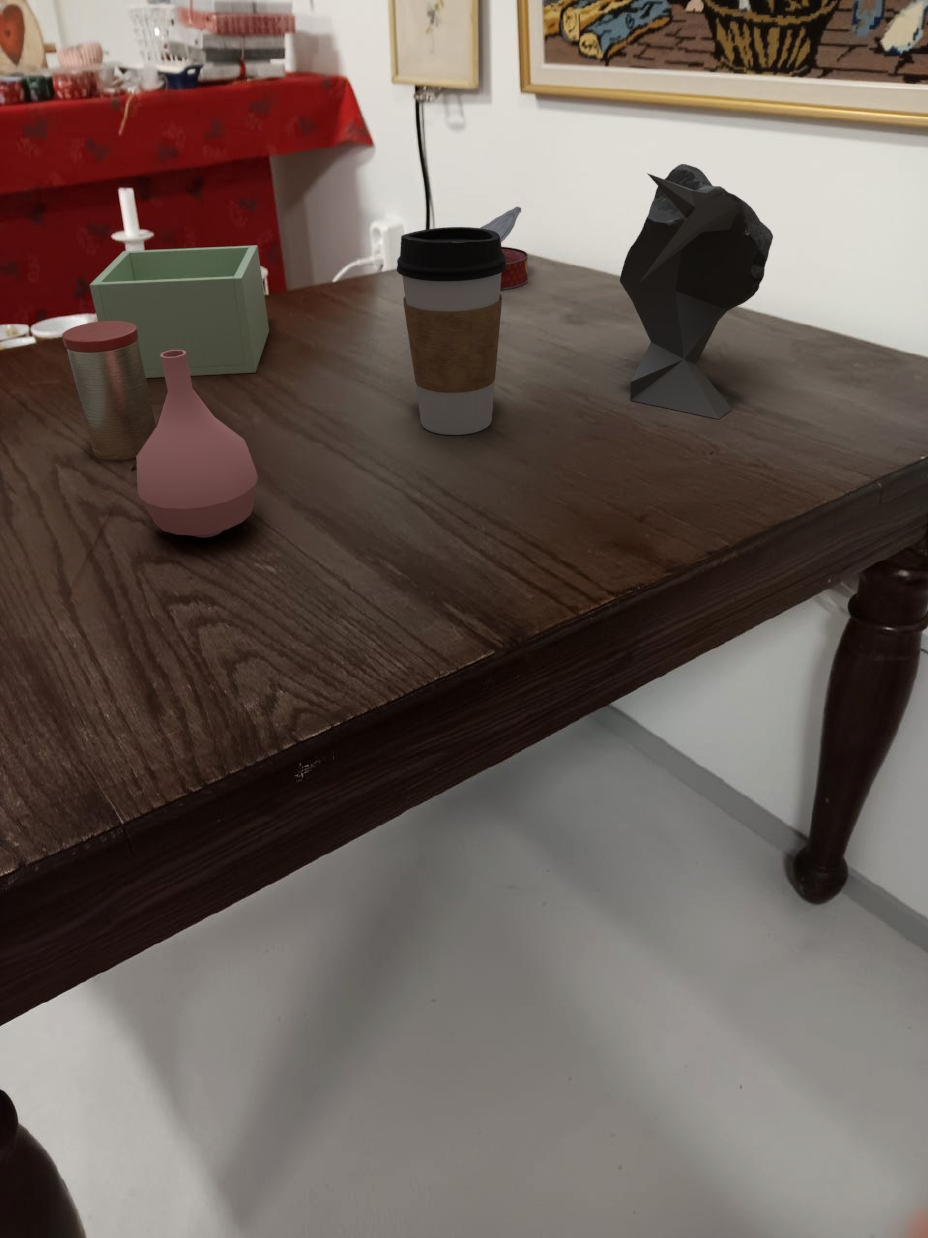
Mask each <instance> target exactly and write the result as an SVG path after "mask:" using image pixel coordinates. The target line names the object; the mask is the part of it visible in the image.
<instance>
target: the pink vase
mask: <svg viewBox="0 0 928 1238" xmlns="http://www.w3.org/2000/svg"><path fill="white" fill-rule="evenodd" d="M160 356H161V361H162V366H163V371H164V375H165V377H164V380H165V385H166V389H167V394H166V396H165V400H164V403H163V407H162V409H161V413H160V416H159V419H158V421H157V424H156V428H155V430H154V431H153V433H152V434H151V436H150V437H149V439H148V440H147V442H146V443H145V445H144V446H143V448H142V449H141V450H140V452H139V453H138V455H137V456H136V458H135V460H137V469H136V489H137V493H138V497H139V499H140V501H141V503H142V504H143V506H144V507H145V509H146V511H147V513H148V514H149V515H150V518H151V519H152V521H153V522H154V524H155V526H157V527H158V528H159V529H160V530H162V531H163V532H166V533H170V534H174V535H180V536H193V537H196V538H212V537H216V536H218V535H220V534H221V533H223V532H224V531H226V530H229V529H231V528H233V527H235V526H237V525H240V524H242V523H243V522H244V521H245V520H246V519H248V518H249V517H250V516H252V512H253V509H254V507H255V500H256V493H257V487H258V479H259V475H258V472H257V469H256V467H255V464H254V461H253V458H252V455H251V453H250V450H249V447H248V445H247V443H246V440H245V439H244V438H243V437H242V436H241V435H239V434H238V433H236V431H234V430H232V429H231V428H229V427H228V425H226V424H225V423H223V422H222V421H221V420H219V419H218V418H216V417H215V416H214V415H213V413H212V412H211V411H210V409H209V408H208V406H207V405H206V404H205V403H204V401H203V400H202V399H201V397H200V396H199V394H197V392H196V391H195V389H193V383H192V376H190V371H189V366H188V360H187V354H186V351H184V350H170V351H166V352H163V353H161V354H160Z"/></svg>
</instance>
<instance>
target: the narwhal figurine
mask: <svg viewBox="0 0 928 1238" xmlns="http://www.w3.org/2000/svg"><path fill="white" fill-rule="evenodd" d="M646 174H647V175H648V176H649V178H651V180H652V181H653V182H654V183H655V184H656V185H657V187H656V190H655V194H654V198H653V200H652V202H651V204H650V207H649V211H648V214H647V216H646V218H645V221H644V223H643V226H642V228H641V230H640V232H639V233H638V236H637V237H636V239H635V240H634V243H633V244H632V245H631V246H630V247H629V249H628V251H627V254H626V257H625V259H624V262H623V266H622V268H621V273H620V277H619V283H620V284H621V286H622V287H623V290H624V291H625V292H626V293H627V296H628V297H629V298H630V300H631V302H632V304H633V306H634V308H635V311H636V313H637V315H638V317H639V320H640V321H641V324H642V326H643V328H644V330H645V332H646V334H647V337H648V339H649V341H650V343H649V344H648V346H647V349H646V351H645V352H644V354H643V357H642V358H641V360H640V362H639V363H638V367H637V369H636V370H635V372H634V374H633V376H632V378H631V380H630V388H629V391H630V392H629V401H631V402H636V403H641V404H644V405H645V404H646V405H651V406H655V407H660V408H665V409H670V410H674V411H679V412H684V413H689V414H693V415H698V416H703V417H705V418H706V417H707V418H712V419H715V420H716V419H717V420H720V419H721V418H723V417H724V416H726V415H727V414H728V413H730V412H731V411H732V410H733V408H732V406H731V405H730V404H729V403H728V402H727V400H726V399H725V398H724V397H723V396H722V394H721V393H720V392H719V390H718V389H717V388H716V387H715V386H714V385H713V383H712V382H711V381H710V380H709V378H708V377H707V376H706V375H705V373H704V372H703V371H702V370H701V369H700V367H699V366H698V365H697V364H698V361H699V359H700V357H701V356H702V354H703V352H704V350H705V348H706V346H707V343H708V342H709V340H710V338H711V336H712V334H713V333H714V330H715V328H716V326H717V325H718V323H719V321H720V320H721V319H722V318H723V317H724V316H725V315H726V314H727V312H729V311H731V310H732V309H734V308H737V307H738V306H741V305H743V304H744V303H746V302H747V301H749V300H750V299H751V298H753V297H755V294H756V293H757V292H758V291H759V289H760V285H761V283H762V281H763V280H764V277H765V269H766V264H767V261H768V258H769V253H770V249H771V246H772V243H773V240H774V235H773V233H772V231H771V229H770V228H769V227H768V226H767V225H766V224H764V223H763V222H762V221H761V220H760V217H759V216H758V215H757V213H756V211H755V210H754V208H753V207H752V206H751V205H749V204H748V203H747V202H746V201H745V200H743V199H741V198H740V197H739V196H738V195H736V194H734V193H731V192H729V191H728V190H726V189H725V188H724V187H722V186H721V185H713V184H712V183H711V181H710V180H709V178H708V177H707V176H706V174H705V173H704V172H703V171H702V170H701V169H699V168H698V167H696V166H693V165H689V164H686V163H680V164H678V165H677V166H675V167H674V168H673V169H671V171H670V172H669V173H668V175H667V176H666V177H665V178H662V177H659V176H656V175H653V174H652V173H648V172H646Z"/></svg>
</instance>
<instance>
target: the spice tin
mask: <svg viewBox="0 0 928 1238" xmlns="http://www.w3.org/2000/svg"><path fill="white" fill-rule="evenodd" d="M61 338H62V342H63V346H64V347H65V349H66V352H67V355H68V360H69V363H70V368H71V371H72V376H73V378H74V384H75V387H76V391H77V394H78V399H79V402H80V407H81V410H82V414H83V418H84V423H85V425H86V430H87V434H88V437H89V442H90V445H91V450H92V453H93V455H94V456H95V457H96V458H98V459H101V460H104V461H105V460H106V461H125V460H132V459H133V460H134V459H135V461H134V464H133V465H132V467H131V469H130V471H135V470H136V471H137V459H136V456H137V455H138V453H139V452H140V450H141V449H142V448H143V446H144V445H145V443H146V442H147V440H148V439H149V437H150V436H151V434H152V433H153V431H154V430H155V428H156V427H157V422H156V418H155V415H154V410H153V403H152V400H151V397H150V390H149V385H148V380H147V378H146V376H145V371H144V367H143V362H142V357H141V353H140V348H139V343H138V332H137V327H136V326H135V325H134V324H132V323H129V322H124V321H100V322H98V321H92V322H88V323H83V324H79V325H76V326H73V327H70V328H68V329H67V330H64V332H63V333H62V334H61Z"/></svg>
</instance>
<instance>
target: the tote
mask: <svg viewBox="0 0 928 1238" xmlns="http://www.w3.org/2000/svg"><path fill="white" fill-rule="evenodd" d="M260 261H261V260H260V254H259V247H258V245H257V244H256V245H237V246H235V245H234V246H214V247H213V246H212V247H190V248H188V247H187V248H167V249H165V248H164V249H145V250H123V251H122V252H121V253H120V254H119V255H118V256H117V257H116V258H115V259H114V260H113V261H112V262H111V263H110V264H109V265H108V266H107V267H106V268H105V269H104V270H103V271H102V272H101V273H100V274H99V275H98V276H97V277H96V278H94V280H93V281H92V282H91V283H90V284H89V290H90V293H91V297H92V302H93V307H94V310H95V315H96V319H97V322H100V321H124V322H129V323H132V324H134V325H135V326H136V327H137V332H138V343H139V348H140V353H141V357H142V362H143V367H144V371H145V376H146V379H155V378H158V379H159V378H165V375H164V371H163V366H162V361H161V356H160V354H161V353H163V352H166V351H170V350H184V351H186V354H187V360H188V366H189V371H190V377H197V376H216V375H237V374H255V373H257V369H258V366H259V363H260V360H261V357H262V354H263V351H264V348H265V345H266V342H267V339H268V336H269V332H270V326H269V320H268V311H267V305H266V297H265V290H264V282H263V276H262V268H261V262H260Z"/></svg>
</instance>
